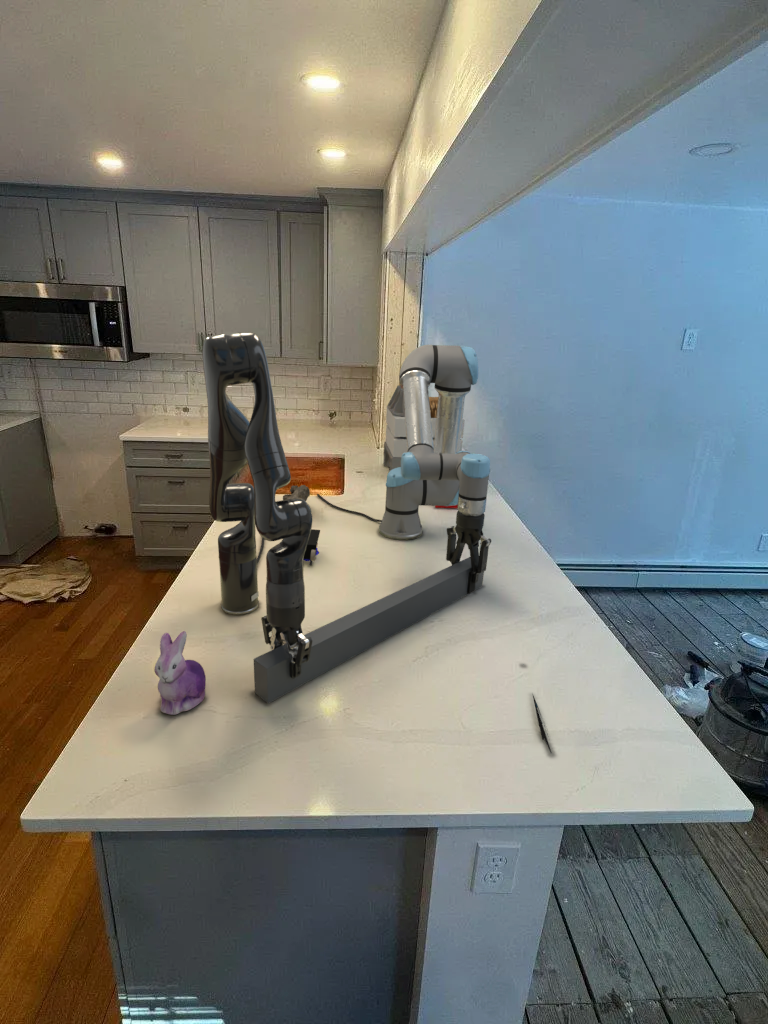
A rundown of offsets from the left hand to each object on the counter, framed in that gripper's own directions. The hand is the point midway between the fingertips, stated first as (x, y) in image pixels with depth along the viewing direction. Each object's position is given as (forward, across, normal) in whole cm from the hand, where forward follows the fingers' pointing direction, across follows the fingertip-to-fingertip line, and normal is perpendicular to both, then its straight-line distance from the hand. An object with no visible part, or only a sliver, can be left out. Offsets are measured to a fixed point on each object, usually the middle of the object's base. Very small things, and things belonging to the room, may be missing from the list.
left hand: (286, 670), depth 117 cm
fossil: (+4, -82, +66) cm, 106 cm away
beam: (+4, 0, +31) cm, 31 cm away
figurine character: (+4, -46, +43) cm, 63 cm away
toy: (+4, -56, +125) cm, 137 cm away
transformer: (+4, -87, +146) cm, 170 cm away
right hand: (+3, 0, +62) cm, 62 cm away
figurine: (+4, -10, -18) cm, 21 cm away
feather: (+4, +40, +32) cm, 51 cm away
